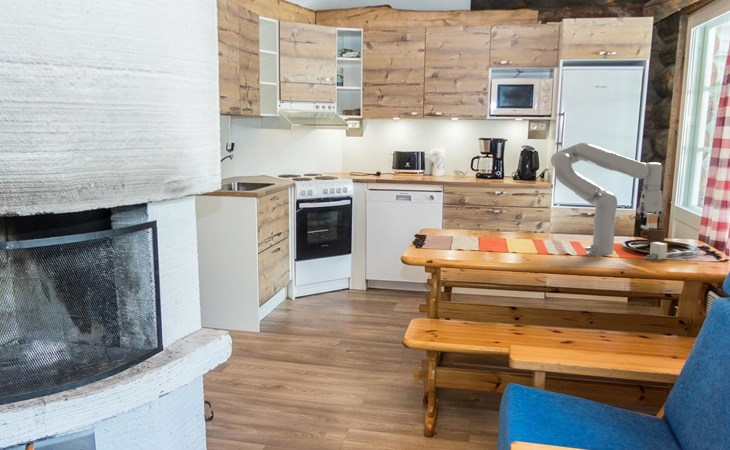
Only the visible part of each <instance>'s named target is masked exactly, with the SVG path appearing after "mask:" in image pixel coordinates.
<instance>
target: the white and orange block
mask: <svg viewBox="0 0 730 450" xmlns="http://www.w3.org/2000/svg"><path fill="white" fill-rule="evenodd" d="M646 217H647V222H646V225H641V224H640V228H641V229H643V230H644V229H647V230H649V229H650V228H658V224H657V220H658V221H659V217H658V214H654V213H653V212H648V213H647V215H646Z"/></svg>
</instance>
